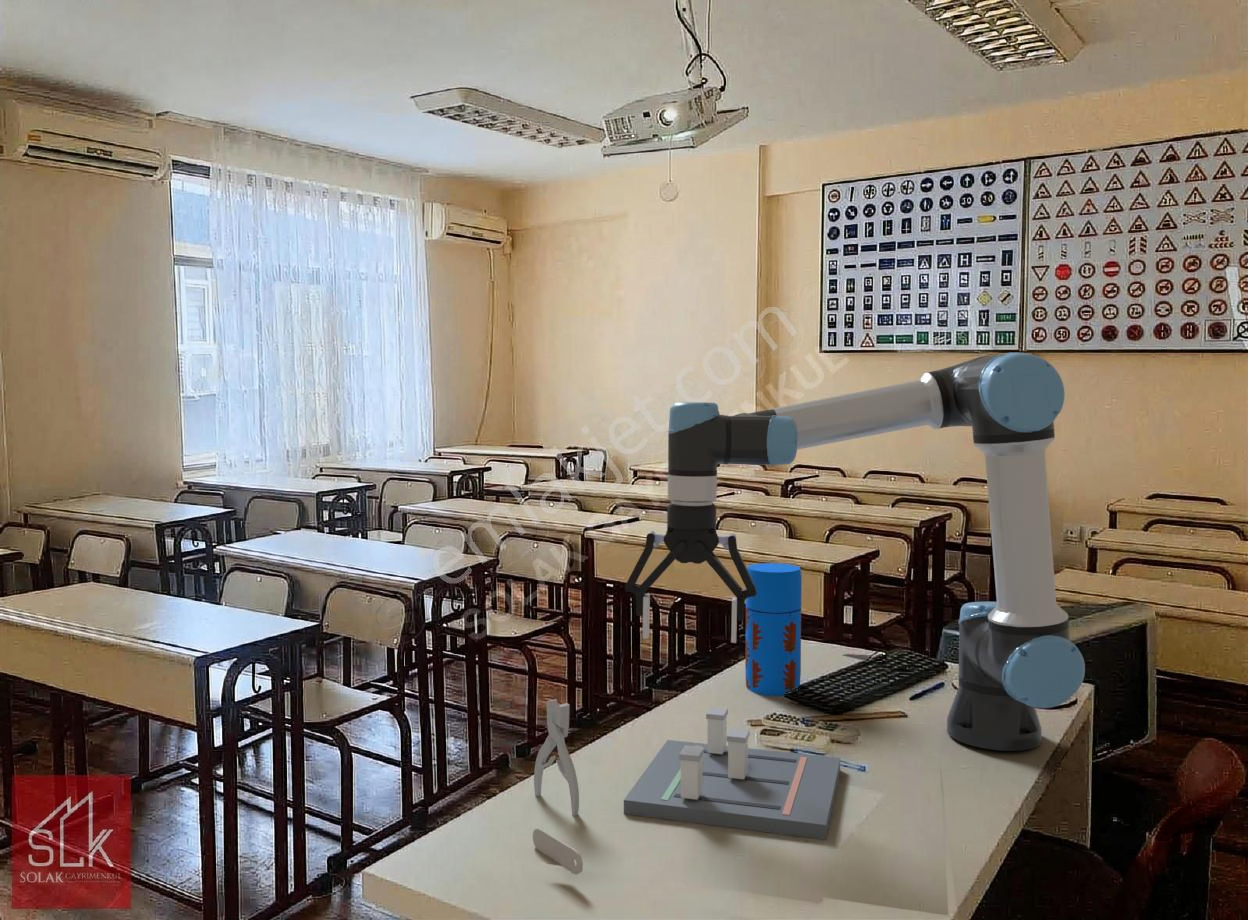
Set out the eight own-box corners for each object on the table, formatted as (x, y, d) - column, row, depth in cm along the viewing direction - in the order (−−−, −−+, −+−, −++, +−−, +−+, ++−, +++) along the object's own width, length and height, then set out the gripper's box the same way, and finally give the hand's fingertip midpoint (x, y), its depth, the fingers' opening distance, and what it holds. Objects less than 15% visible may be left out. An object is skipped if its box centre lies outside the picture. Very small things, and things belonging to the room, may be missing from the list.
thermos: (798, 684, 198) (799, 563, 196) (802, 701, 187) (803, 572, 185) (744, 683, 199) (745, 562, 197) (745, 699, 188) (746, 572, 186)
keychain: (584, 876, 119) (584, 852, 119) (580, 878, 119) (580, 854, 118) (536, 846, 127) (536, 824, 127) (532, 847, 127) (532, 825, 127)
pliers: (584, 813, 137) (583, 709, 136) (575, 816, 136) (574, 711, 135) (542, 792, 144) (542, 693, 143) (534, 794, 143) (533, 695, 142)
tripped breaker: (749, 770, 146) (749, 729, 145) (745, 779, 142) (745, 737, 142) (730, 768, 146) (731, 727, 146) (726, 777, 143) (726, 735, 143)
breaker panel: (840, 770, 152) (840, 756, 152) (825, 839, 128) (825, 823, 128) (667, 751, 160) (667, 739, 160) (623, 813, 137) (623, 799, 136)
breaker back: (727, 746, 156) (728, 708, 155) (723, 754, 152) (723, 715, 152) (710, 745, 156) (710, 706, 156) (706, 752, 153) (706, 713, 153)
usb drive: (848, 661, 217) (848, 649, 217) (897, 671, 209) (898, 658, 209) (836, 665, 213) (836, 653, 213) (886, 676, 205) (886, 663, 205)
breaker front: (704, 790, 138) (704, 747, 138) (698, 800, 135) (698, 756, 135) (684, 787, 139) (685, 745, 139) (679, 797, 136) (679, 753, 135)
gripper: (773, 502, 151) (770, 636, 152) (615, 497, 154) (613, 629, 155) (774, 507, 143) (771, 648, 145) (608, 502, 147) (606, 641, 148)
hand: (689, 638), depth 150 cm, fingers open, 13 cm apart
